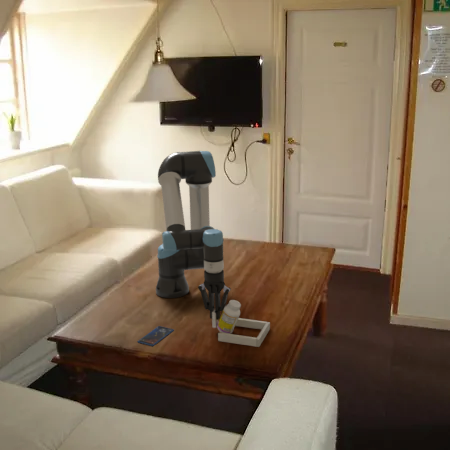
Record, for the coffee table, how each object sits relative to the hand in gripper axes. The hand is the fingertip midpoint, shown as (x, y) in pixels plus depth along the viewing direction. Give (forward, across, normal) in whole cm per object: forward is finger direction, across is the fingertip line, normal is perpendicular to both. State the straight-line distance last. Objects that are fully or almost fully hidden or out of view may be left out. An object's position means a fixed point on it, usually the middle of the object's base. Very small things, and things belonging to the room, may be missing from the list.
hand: (215, 326), depth 228 cm
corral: (+2, +11, 0) cm, 12 cm away
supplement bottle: (+1, +4, 0) cm, 4 cm away
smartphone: (+3, -21, -11) cm, 23 cm away
